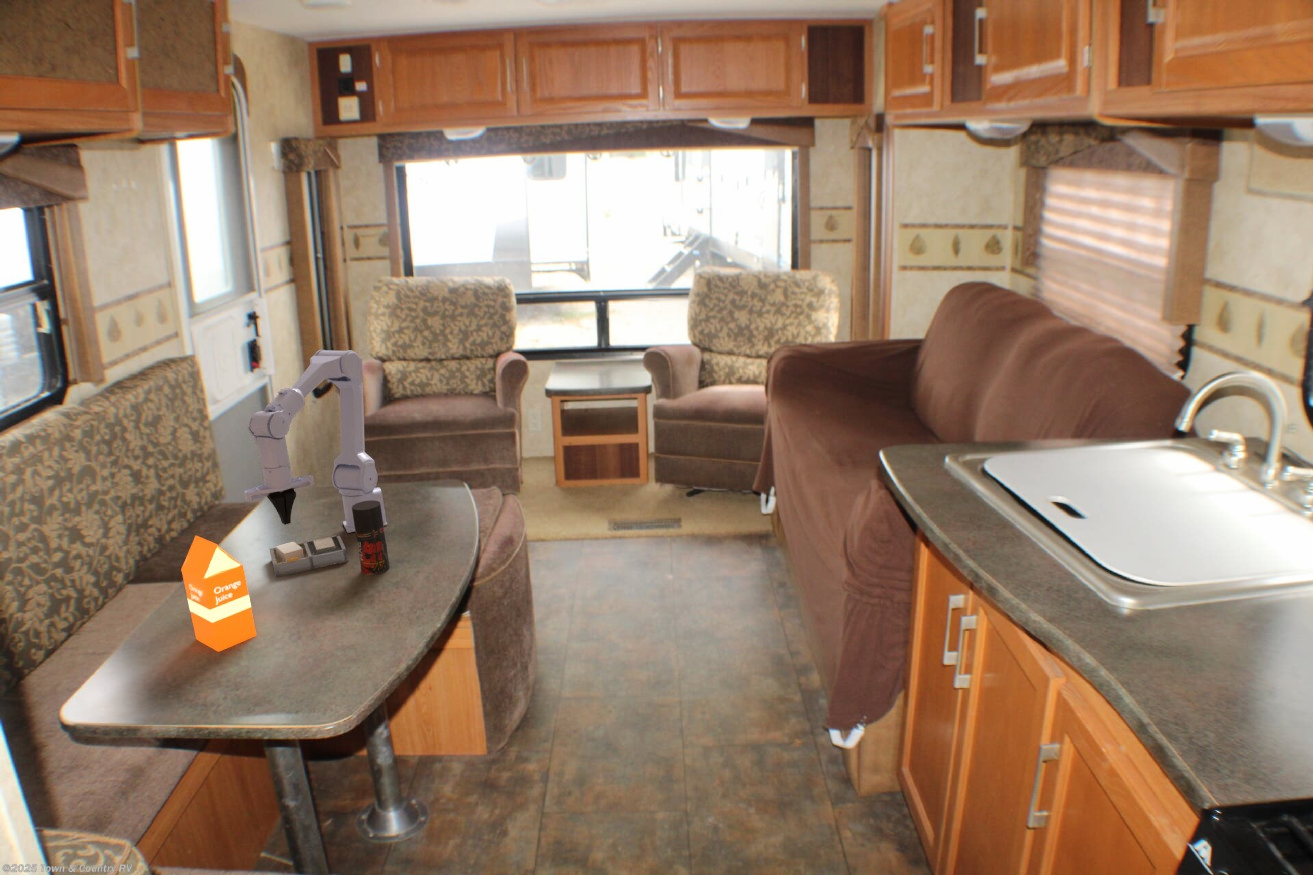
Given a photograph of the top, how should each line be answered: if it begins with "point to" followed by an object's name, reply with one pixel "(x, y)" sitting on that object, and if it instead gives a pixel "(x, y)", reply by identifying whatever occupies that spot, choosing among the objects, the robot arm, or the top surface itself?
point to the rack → (312, 556)
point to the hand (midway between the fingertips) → (286, 522)
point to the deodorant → (370, 537)
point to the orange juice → (217, 596)
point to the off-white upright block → (289, 551)
